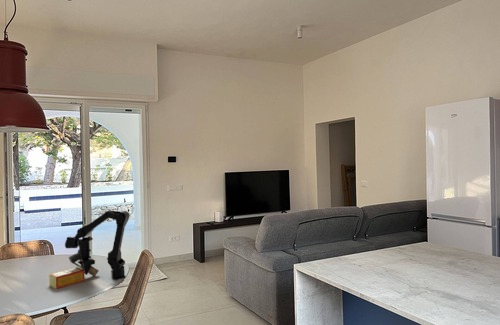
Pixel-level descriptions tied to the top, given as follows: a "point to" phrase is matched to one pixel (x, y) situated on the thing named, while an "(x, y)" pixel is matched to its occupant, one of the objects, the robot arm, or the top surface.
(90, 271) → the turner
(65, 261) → the top surface
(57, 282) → the baking soda box
